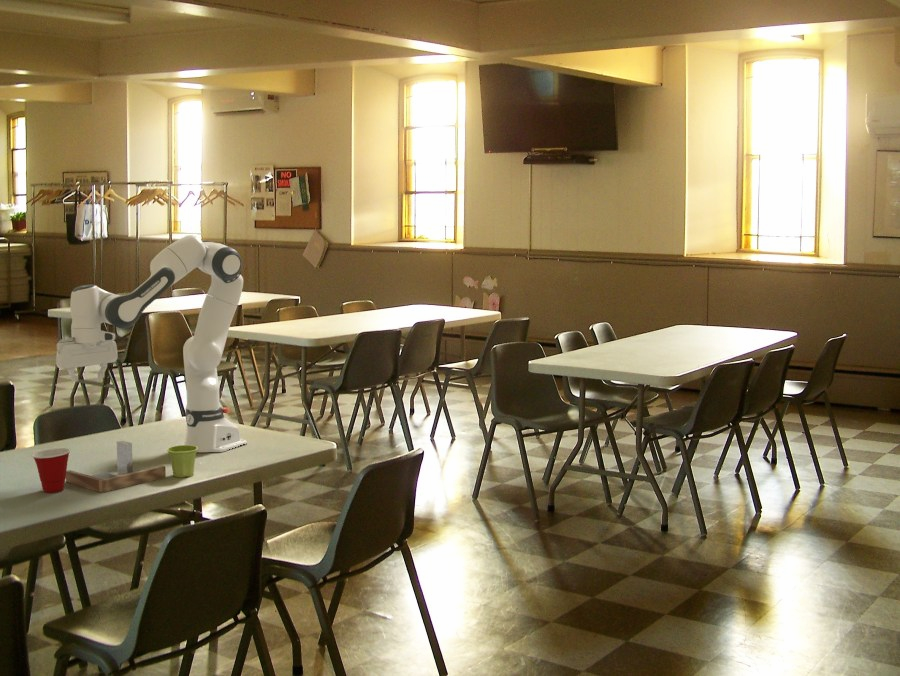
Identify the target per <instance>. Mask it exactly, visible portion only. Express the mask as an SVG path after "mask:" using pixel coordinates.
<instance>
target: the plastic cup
mask: <svg viewBox="0 0 900 676" xmlns="http://www.w3.org/2000/svg"><path fill="white" fill-rule="evenodd" d="M70 451H71V449H70V448H68V447H55V448H48V449H44V450H39V451H36V452H34V453H32V454H31V457H32V458H33V459H34V461H35V465H36V468H37V473H38V476H39V480H40V483H41V488H42V491H43V493H46V492H47V493H48V494H53V492H56V493H59V491H60V492H62V490H63V491H64V489H65V485H66V484H65V483H66V471H68V469H67V468H68V461H69V454H70Z"/></svg>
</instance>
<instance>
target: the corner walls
mask: <svg viewBox="0 0 900 676" xmlns="http://www.w3.org/2000/svg"><path fill="white" fill-rule="evenodd" d="M140 470H141V469H140ZM166 471H167V469H166V466H164V465H159V466H155V467H151V468H147V469H142V470H141V471H137V472H133V473H128V474H124V475H120V476H115V477H111V478H107V479H100V478H97V477H93V475H89V474H86V473H82V472H77V471H74V470H70V469H68V470H67V471H66V479H65V483H67V482H69V483H68V484H70V483H72V484H71V485H74V484H75V485H74V486H77V485H79V486H78V487H81V486H82V487H81V488H84V487H86V488H85V489H88V488H89V489H88V490H91V489H92V490H91V491H95V490H96V491H95V492H98V491H99V493H101V492H104V493H107V492H111V491H110V490H112V491H115V490H114V489H116V490H119V489H118V488H120V489H123V488H122V487H124V488H127V486H128V487H131V486H137V485H140V484H143V483H149V482H152V481H157V480H159V479H164V478H167V477H166V475H167V474H166V473H167V472H166ZM106 491H107V492H106Z"/></svg>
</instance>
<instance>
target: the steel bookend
mask: <svg viewBox="0 0 900 676" xmlns="http://www.w3.org/2000/svg"><path fill="white" fill-rule="evenodd" d="M116 461H117V462H116V463H117V464H116V465H117V470H118V472H114V473H109V478H111V477H115V476H120V475H124V474H128V473H133V469H134V467H133V466H134V465H133V464H134V463H133V443H132V442H130V441H126V440H117V441H116Z"/></svg>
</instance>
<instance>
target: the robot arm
mask: <svg viewBox="0 0 900 676" xmlns="http://www.w3.org/2000/svg"><path fill="white" fill-rule="evenodd" d="M242 259H243V258H242V256H241V254H240V253H239V252H238V251H237V250H236V249H234V248H233V247H230V246H227V245H225V244H222V243H220V242H213V241H210V240H201V238H199V237H197V236H196V235H193V234H189V235H185V236H183V237H181V238H180V239H179V238H178V239H177V240H175V241H174V242H172V243H171V244H169V245H167V246H165V248H164V249H162V250H161V251H159V253H157V254H156V255H155V256H154V258H152V259H151V260H150V263H149V264H150V265H149V269H150V270H149V271H150V276H149V277H148V278H147V279H146V280H145V281H144V282H143V283H141V284H140V285H139V286H138V287H137V288H135V289H134V290H133V291H131V293H129V294H123V295H120V294H116V293H112V292H109V291H106V290H104V289H102V288H100V287H99V286H97V285H96V284H91V283H90V284H82V285H79V286H76V287H75V288H73V289H72V291H71V294H70V304H69V305H70V309H69V310H70V316H71V326H70V331H71V332H70V334H71V335H70V336H71V337H68V338H62V339H60V340H59V341H58V342H57V343H56V357H55V358H56V359H55V364H56V367H57V368H58V369H61V370H67V373H68V375H69V376H70V381H71V382H72V383H77V382H79V375H76V373H75V371H76V368H80V367H81V368H82V367H87V366H88V367H90V366H95V365H96V366H97V365H99V367H100V369H99V371H97V372H96V375H97V378H98V379H102V378H105V372H106V370H107V368H108V364H111V363H116V362H117V360H118V346H117V343H116V341H115V340H116V334H115V333H114V332H110V331H105V330H102V329H101V328H102V327H101V325H102V324H103V323H105V324H108V325H112V326H114V327H116V328H117V329H128V328H131V327H132V326H134V325H135V324H136V323H137V322H138V321H139V319H140V317H141V316H142V314H143V312H144V311H145V309H147V307H148V306H150V305H151V304H152V303H153V302H154V301H156V299H157V298H159V297H161V295H162V294H163V293H164V292H166V291H167V290H168V289H169V288H170V287H172V286H173V285H174V284H176V283H177V282H178V281H180V280H182V279H183V278H184V277H186V276H187V275H188V274H190V273H191V272H192V271H193V270H194V269H196V270H198V271H199V272H200V271H201V272H203V273H205V274H207V275H209V276H210V277H211V278H210V279H211V283H210V286H209V289H208V290H207V292H206V296H205V299H204V301H203V304H202V306H201V309H200V311H199V314H198V317H197V322H196V323H197V324H196V327H195V330H194V334H193V336H191V337H189V338H187V339H186V341H185V343H184V344H183V348H182V353H183V366H184V376H185V378H184V379H185V384H186V385H185V387H186V408H185V420H186V433H185V439H184V440H185V441H184V444H183V445H193V446H197V447H198V450H197V452H196V453H223V452H226V451H230V450H232V448H233V449H235V447H236V448H239V447H241V446H240V445H242V446H244V445H243V444H245V445H247V444H248V442H247V440H246V439H244V438H241V434H240V430H239V427H238V426H237V425H236V424H234V423H233V422H231V420H229V419H228V418H226V417H225V415H224V414H226V415H227V414H229V413H230V410H231V409H230V408H229V407H223V408H222V407H221V406H220V405H221V403H220V383H219V378H218V369H217V367H219V365H220V364H221V361H222V357H223V353H224V349H225V346H226V342H227V338H228V334H229V330H230V327H231V324H232V321H233V318H234V316H235V314H236V313H235V312H236V310H237V308H238V305H239V303H240V300H241V296H242V292H243V287H244V276H242V275H241V273H242V267H243V261H242ZM246 443H247V444H246ZM238 446H239V447H238ZM229 449H230V450H229Z"/></svg>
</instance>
